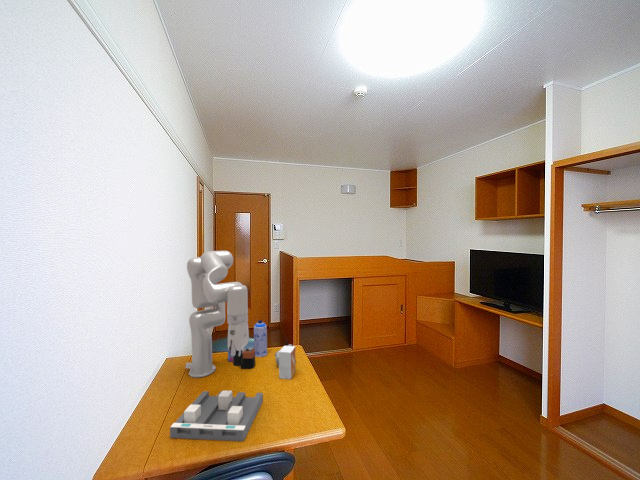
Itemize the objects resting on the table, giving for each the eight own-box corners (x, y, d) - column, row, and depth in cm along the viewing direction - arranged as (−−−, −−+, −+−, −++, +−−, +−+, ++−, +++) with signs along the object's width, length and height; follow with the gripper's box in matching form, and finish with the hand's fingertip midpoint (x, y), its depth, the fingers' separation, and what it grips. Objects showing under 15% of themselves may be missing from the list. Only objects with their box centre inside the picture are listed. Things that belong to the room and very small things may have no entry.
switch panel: (170, 437, 92) (170, 426, 92) (203, 399, 114) (203, 390, 114) (243, 441, 89) (243, 429, 89) (262, 401, 111) (262, 392, 111)
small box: (291, 379, 128) (291, 352, 128) (278, 378, 129) (278, 351, 129) (296, 371, 136) (295, 346, 136) (284, 370, 137) (283, 345, 137)
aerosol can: (270, 352, 159) (269, 319, 159) (262, 358, 152) (261, 323, 152) (259, 350, 163) (258, 317, 163) (251, 355, 155) (250, 321, 155)
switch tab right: (227, 427, 94) (227, 412, 93) (232, 420, 97) (232, 405, 97) (238, 428, 93) (238, 413, 93) (243, 420, 97) (242, 406, 97)
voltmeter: (299, 369, 138) (298, 350, 138) (277, 373, 135) (276, 353, 135) (289, 349, 164) (289, 333, 164) (270, 352, 160) (270, 335, 160)
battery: (252, 369, 139) (252, 350, 139) (240, 369, 140) (239, 350, 140) (255, 365, 144) (255, 346, 144) (243, 365, 144) (242, 346, 144)
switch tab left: (184, 426, 95) (184, 411, 95) (190, 418, 99) (190, 404, 99) (195, 426, 94) (194, 411, 94) (201, 419, 98) (200, 404, 98)
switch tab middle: (218, 409, 104) (218, 396, 104) (222, 403, 108) (222, 390, 108) (228, 410, 103) (228, 396, 103) (232, 403, 107) (232, 390, 107)
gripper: (239, 324, 94) (240, 375, 94) (253, 312, 109) (254, 356, 109) (219, 323, 95) (219, 374, 95) (236, 311, 110) (236, 356, 110)
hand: (238, 365), depth 102 cm, fingers closed
